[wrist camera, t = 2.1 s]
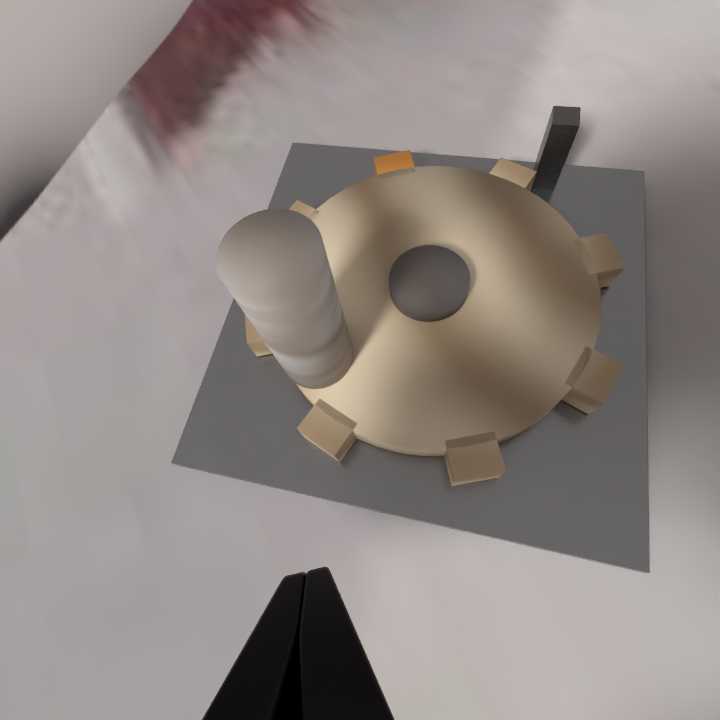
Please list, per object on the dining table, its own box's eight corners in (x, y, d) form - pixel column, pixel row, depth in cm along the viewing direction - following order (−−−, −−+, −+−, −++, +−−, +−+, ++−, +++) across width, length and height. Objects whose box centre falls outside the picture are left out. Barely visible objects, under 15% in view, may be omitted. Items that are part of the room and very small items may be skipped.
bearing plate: (643, 572, 17) (716, 578, 13) (176, 465, 21) (118, 443, 17) (639, 178, 24) (685, 103, 20) (294, 149, 28) (274, 80, 24)
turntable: (460, 130, 26) (483, -60, 18) (693, 341, 20) (892, 193, 12) (208, 272, 24) (104, 129, 16) (377, 562, 18) (348, 569, 10)
